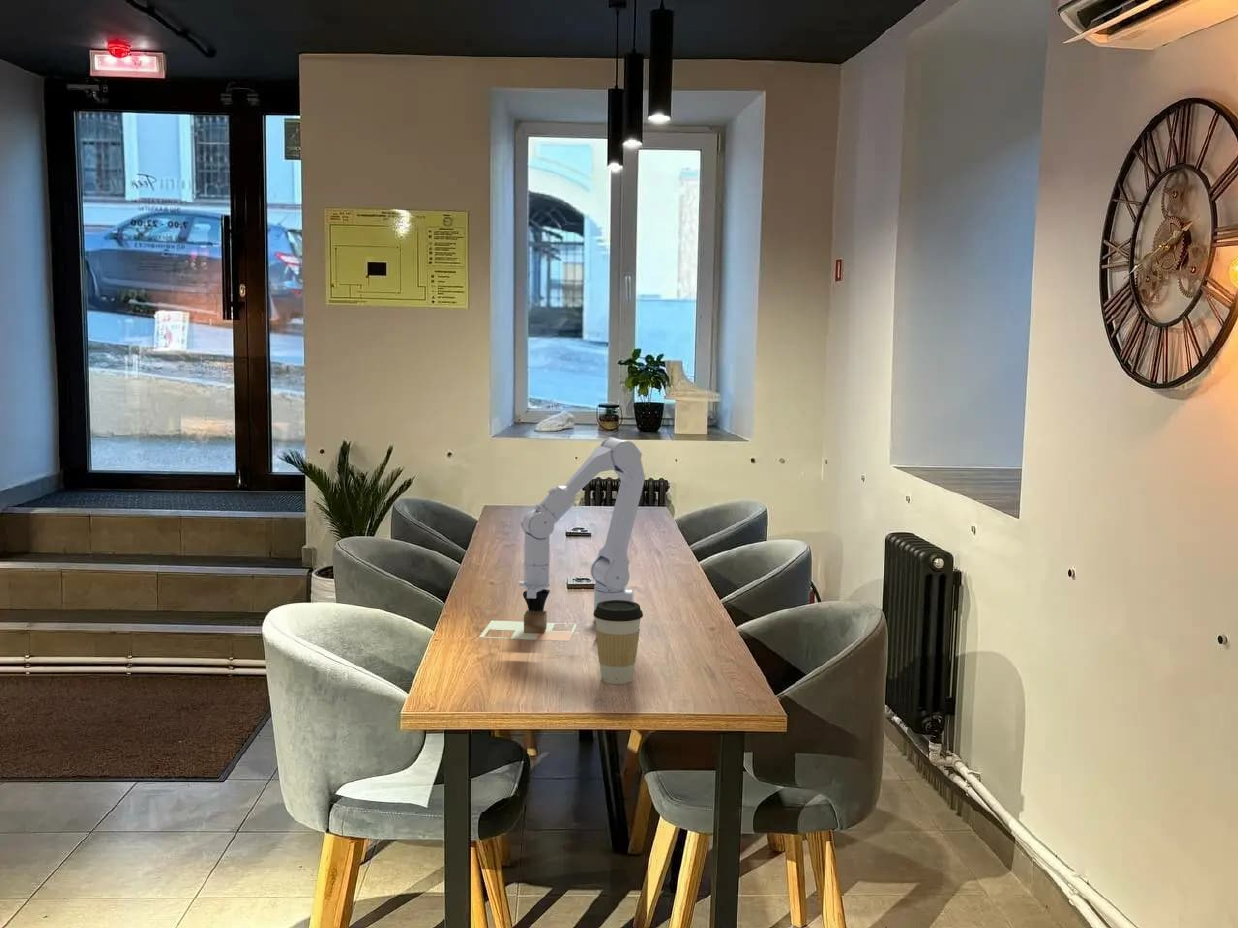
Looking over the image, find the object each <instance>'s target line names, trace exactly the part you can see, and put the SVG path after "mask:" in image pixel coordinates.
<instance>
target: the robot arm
mask: <svg viewBox="0 0 1238 928" xmlns="http://www.w3.org/2000/svg"><path fill="white" fill-rule="evenodd" d="M642 455H643V454H642V451H640V449H639V448H638V446H637V445H636V444H635V443H634V442H633V441H629V440H623V439H619V438H617V437H607V438H605V439H604V440H603V441H601V444H600V445H598V446H596V447H595V448H594V449H593V451H592V453H591V454H590V456H589V457H588V458H587V459H586V460H585V461H584V463H583V464H582V465H581V466H580V467H579V468H578V469H577V471H575V472H574V474H573V475H572V476H571V477H570V478H569V480H568V481H566V483H565V484H564V485H557V486H555V487H554V488H553V487H551V488H550V489H549V490H547V493H548V494H547V495H546V497H545V498H543V499H542V501H541V502H540V503H539V504H537V503H536V504H535V505H534V506H533V508H534V509H533V510H530V511H527V512H526V513H525V514H524V515H523V519H522V521H521V522H520V527H521V529H522V531H524V548H523V549H524V551H523V552H524V553H523V554H524V555H523V557H524V559H523V562H524V563H523V566H524V568H523V580H520V581H519V582H518V586H519V587H523V588H524V589H525V591H523V593H522V597H523V599H524V602H526V606H527V609H528V610H531V611H545V610H544V609H545V604H546V602H547V599H548V596H549V594H550V591H551V590H550V589H548V588H550V586H551V583H550V553H551V552H550V551H551V550H550V545H551V544H550V535H552V534H553V532H554V530H555V524H557V522H559V521H560V519H561V518H563V516H565V514H566V513H567V512H568V511H569V510H570V509H571V508H572V507H573V506H574V504H575V503H576V502H575V501H576V496H577V494H578V493H579V492H581V490H582V489H584V488H585V487H586V486H587V485H588V484H589V483H590V482H591V481H592V480H593V479H595V477H596V476H597V475H599V473H602V472H607V471H614V472H615V474H616V476H617V477H618V478H619V480H620V484H619V487H618V491H617V496H616V500H615V503H614V507H613V511H612V515H611V519H610V523H609V527H608V530H607V531H608V532H607V535H606V539H605V543H604V545H603V546H602V548H601V549H599V551H598V554H597V557H596V558H595V560H594V561H593V562H592V564H591V567H590V575H591V577H592V579H593V580H594V581H595V583H594V585H593V587H594V588H593V593H594V595H593V611H594V610H595V609H596V607H597V604H598V603H600V602H603V601H609V600H625V601H631V602H635V601H634V589H627V588H626V586H627V585H628V584H629V580H630V572H629V567H630V566H629V565H630V559H629V558H630V557H629V555H628V547H629V544H630V540H631V536H632V533H633V528H634V524H635V519H636V517H637V512H638V507H639V505H640V504H639V503H640V500H641V497H642V493H643V489H644V484H645V481H646V480H645V478H646V475H645V471H644V466H643V462H642ZM593 621H594V622H596V617H594V616H593Z"/></svg>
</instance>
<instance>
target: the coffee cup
mask: <svg viewBox="0 0 1238 928" xmlns="http://www.w3.org/2000/svg"><path fill="white" fill-rule="evenodd" d="M594 617H596V621H595V625H596V626H595V634H596V645H597V655H598V662H599V668H600V669H599V670H600V679H601V681H602V682H604V683H606V684H609V685H625V684H628V683H631V682H632V681H633V676H634V670H635V664H636V660H637V652H638V644H639V639H640V633H641V630H640V625H641V619H642V618H643V617H644V613H643V611H642V609H641V605H640V604H639V603H637V602H635V601H633V602H631V601H625V600H609V601H603V602H600V603H598V604H597V607H596V609H595V610H594V609H593V618H594Z"/></svg>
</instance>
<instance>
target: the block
mask: <svg viewBox="0 0 1238 928" xmlns="http://www.w3.org/2000/svg"><path fill="white" fill-rule="evenodd" d="M547 614H548V613H547V610H543V611H531V610H529V609H528V610H526V611H525V613H524V615H523V622H524V633H539V634H544V632H545V630H546V628H547V623H548V621H547V619H548V618H547V616H548V615H547Z"/></svg>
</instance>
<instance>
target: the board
mask: <svg viewBox="0 0 1238 928" xmlns="http://www.w3.org/2000/svg"><path fill="white" fill-rule="evenodd" d="M555 625H566V623H564V622H563V623H561V622H547V628H546V630H545V632H544V634H539V633H524V621H516V620H515V621H511V620H491V621H490V622H489V623H488V624H487V626H486V627H485V628H484V630H483V631H482V632H481V634H479V636H478V638H480V639H481V638H484V639H503V637H500V636H499V637H497V636H495V637H494V636H486V634H487V633H488V632H489V631H490V630H492V631H514V632H513V633H512V635H511V637H504V639H505V640H506V639H510V640H511V639H512V640H531V641H532V640H536V641H553V642H554V641H556V642H557V641H559V642H560V641H561V642H570V641H571V638H572V636H573V634H574V632H575V629H576V627H577V625H578V624H577V623H569V626H570V625H571V626H572V625H573V627H572V629H571V631H570V630H569V631H567V630H566V631H565V630H553V629H554V626H555Z"/></svg>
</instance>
